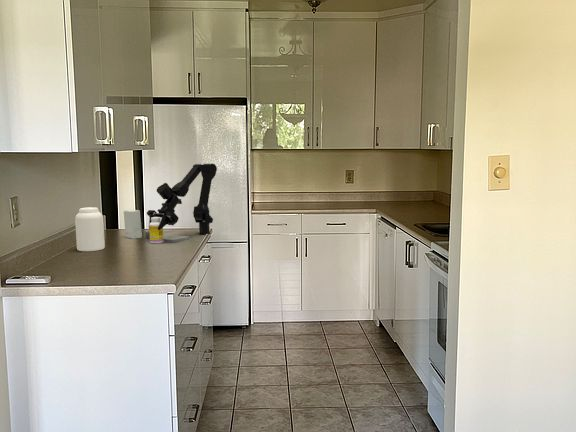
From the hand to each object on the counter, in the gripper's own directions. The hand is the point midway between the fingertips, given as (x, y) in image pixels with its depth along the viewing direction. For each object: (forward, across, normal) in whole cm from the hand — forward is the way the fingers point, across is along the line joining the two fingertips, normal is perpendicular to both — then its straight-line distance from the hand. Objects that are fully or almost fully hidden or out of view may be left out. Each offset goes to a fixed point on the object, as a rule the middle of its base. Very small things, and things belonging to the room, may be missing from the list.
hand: (153, 229), depth 271 cm
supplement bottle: (+4, 0, -6) cm, 7 cm away
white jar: (+25, +12, +15) cm, 32 cm away
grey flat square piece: (-4, 0, -14) cm, 14 cm away
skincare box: (+1, +24, -9) cm, 25 cm away
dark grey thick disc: (-2, +14, -12) cm, 18 cm away
